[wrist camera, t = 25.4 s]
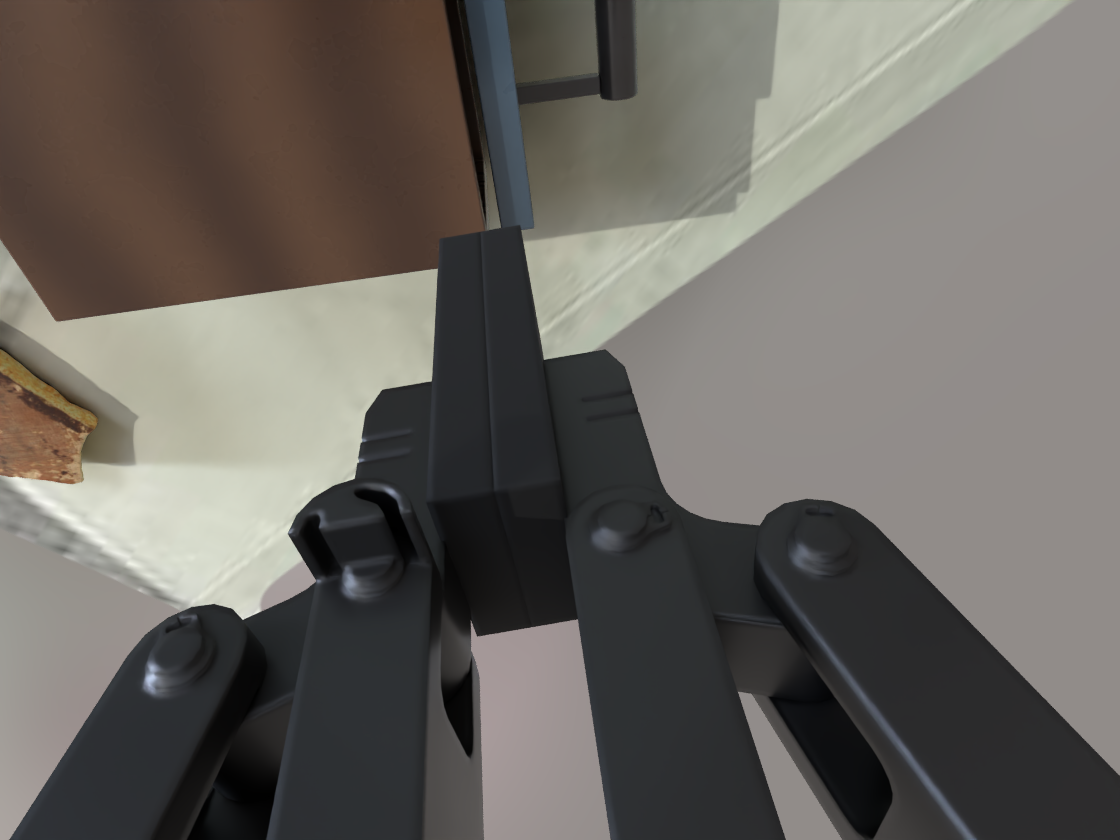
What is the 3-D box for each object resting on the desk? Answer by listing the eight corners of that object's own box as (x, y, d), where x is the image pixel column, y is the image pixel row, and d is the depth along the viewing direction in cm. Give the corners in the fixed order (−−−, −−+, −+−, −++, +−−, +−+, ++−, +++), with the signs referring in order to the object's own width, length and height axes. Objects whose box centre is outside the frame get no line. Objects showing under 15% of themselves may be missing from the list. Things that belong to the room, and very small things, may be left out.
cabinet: (410, -277, 22) (381, -342, 15) (486, 167, 32) (491, 261, 24) (-66, -215, 22) (-334, -251, 15) (152, 213, 31) (55, 322, 24)
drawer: (603, -279, 22) (652, -330, 16) (620, 142, 31) (657, 211, 25) (18, -204, 22) (-152, -226, 16) (201, 200, 30) (136, 284, 24)
